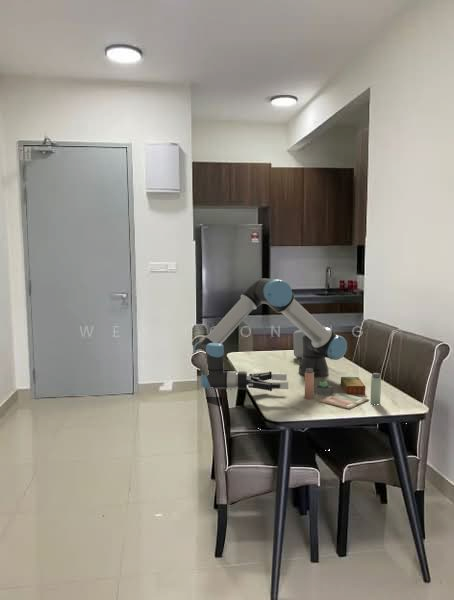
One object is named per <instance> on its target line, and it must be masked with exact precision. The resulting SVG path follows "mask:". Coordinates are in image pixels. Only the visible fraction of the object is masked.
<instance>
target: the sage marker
mask: <svg viewBox="0 0 454 600" xmlns="http://www.w3.org/2000/svg"><path fill="white" fill-rule="evenodd" d="M381 388H382V377H381V373H379V372H373V373H372V375H371V377H370V400H369V401H370V405H372V404H375V405H374V406H378V405H377V404H380V405H381Z"/></svg>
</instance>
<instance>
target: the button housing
mask: <svg viewBox="0 0 454 600" xmlns="http://www.w3.org/2000/svg"><path fill="white" fill-rule="evenodd" d="M333 392H334V386H332V385H328V384H327V388H321V387H320V384H318V385H314V394H320V395H324V396H326V395H329V394H331V393H333Z"/></svg>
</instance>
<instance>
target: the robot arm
mask: <svg viewBox="0 0 454 600" xmlns="http://www.w3.org/2000/svg"><path fill="white" fill-rule="evenodd" d="M292 290H293V289H292V287H291V285H290V284H289V283H288V282H287V281H285V280H282V279H278V278H274V279H273V278H266V277H264V278H259V279H256V281H254V282H253V283H251V284H250V285H249V286H248V287H247V288H246V289H245V290H244V291H243V292H242V293H241V295H240V299H239V300H238V301H237V302H236V303H235V304H234V305H233V307H231V309H230V310H229V311H228V312H227V313H226V314H225V316H223V318H222V319H221V320H220V321H219V322H218V323H217V324H216V325H215V327H213V329H212V330H211V331H210V332H209V333H208V334H207V336H205V338H204V339H203V340H202V341H197V342H196V343H195V344H194V345H193V347H192V353H193V354H194V351H195V350H197V349H202V350H204V351H205V352H206V355H207V364H208V370H209V375H208V376H207V375H203V373H202V372H201V378H200V380H201V381H200V383H201V388H204V389H209V388H208V387H213V388H216V390H217V389H219V390H230V391H232V390H236V389H238V390H247V387H248V388H250V389H251V388H252V389H257V390H258V389H259V390H265V391H269V392H272V391H273V390H274V389H275V390H288V389H289V381H287V378H288V375H287V373H272V371H267V372H265V371H264V372H258V373H248V372H247V371H242V370H241V371H239V370H238V372H237V371H235V370H224V363H225V362H224V361H225V360H224V359H225V349H224V344H223V343H224V342H225V341H226V340H227V338H229V336H230V335H231V334H232V333H234V331H235V329H237V327H238V326H239V325H240V324H241V323H242V322H243V320H245V319H246V317H247V316H248V315H249V314H251V312H252V311H253V310H256V309H257V308H258V307H260V306H261V305H262V304H263V305H264V304H265V305H268V307H270V308H271V309H272V310H273V311H274V312H275V313H278V314H279V313H281V314H282V315H283V316H285V317H286V319H288V320H289V321H290V322H291V323H292V324H293V325H295V327H296V328H297V329H298V328H299V329H300V330H301V331H302V332H303V335H302V358H301V361H300V364H299V366H298V373H299V374H300V375H303V376H305V372H306V368H312V369H313V372H314V378H315V377H316V378H317V377H325V376H326V377H327V375H329V374H330V373H329V367H328V362H327V360H326V358H327V359H329V360H334V361H335V360H336V361H337V360H340V359H342V358H343V357H344V356H345V354H346V352H347V350H348V342H347V339H346V338H345V337H343V336H341V335H338V334H336V333H335V332H334V331H333V330H332V329H331V328H329V327H325V326H323V325H322V324H321V322H319V320H317V319H316V318H315V317H314V316H313V315H312V314H311V313H309V311H308V310H307V309H306V308H304V307H303V305H302V304H301V303H299V302H298V301H297V300H296V299H295V294H294V292H293V291H292ZM267 380H268V381H267ZM269 380H271V381H272V382H269ZM206 387H207V388H206Z"/></svg>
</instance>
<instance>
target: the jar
mask: <svg viewBox="0 0 454 600" xmlns="http://www.w3.org/2000/svg"><path fill="white" fill-rule="evenodd" d="M302 335H303V332H302V331H301V330H300V329H299V328H298V327H297V330H295V331H294V332H293V334H292V337H293V338H292V340H293V355H294V357H295V358H299V359H300V358H301V359H302Z"/></svg>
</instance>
